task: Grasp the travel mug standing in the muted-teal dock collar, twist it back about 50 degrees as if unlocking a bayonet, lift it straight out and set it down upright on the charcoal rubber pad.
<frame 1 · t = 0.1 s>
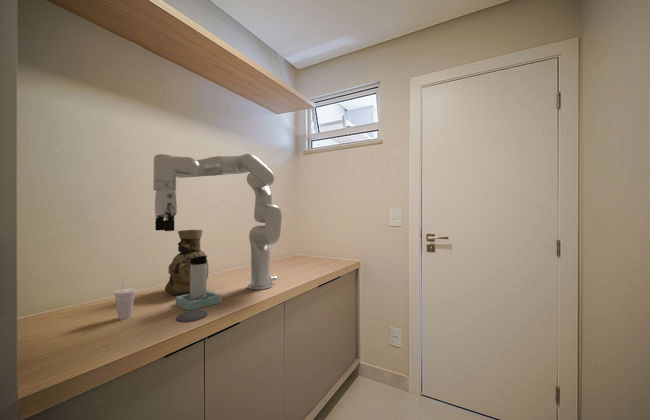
hand: (164, 230, 100), 31 cm above the worktop, fingers open, 9 cm apart
smoothie: (125, 318, 93), on the worktop
ceramic vessel: (187, 291, 127), on the worktop
dock collar: (198, 303, 109), on the worktop
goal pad: (192, 316, 94), on the worktop
travel mug: (198, 303, 109), resting in dock collar
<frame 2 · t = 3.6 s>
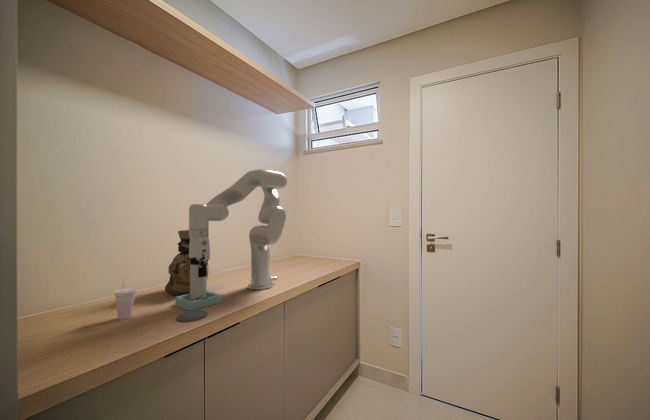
hand: (198, 275, 109), 12 cm above the worktop, fingers closed on travel mug, 6 cm apart
travel mug: (198, 303, 109), resting in dock collar, touching gripper
everything else where it was.
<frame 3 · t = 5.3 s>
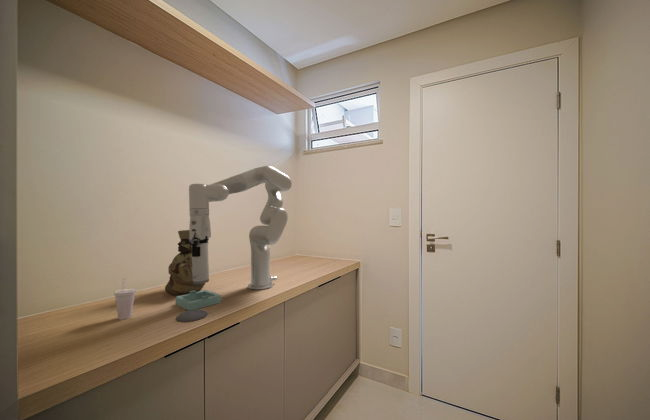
hand: (200, 254, 110), 20 cm above the worktop, fingers closed on travel mug, 6 cm apart
travel mug: (201, 282, 110), point 8 cm above the worktop, touching gripper
everything else where it was.
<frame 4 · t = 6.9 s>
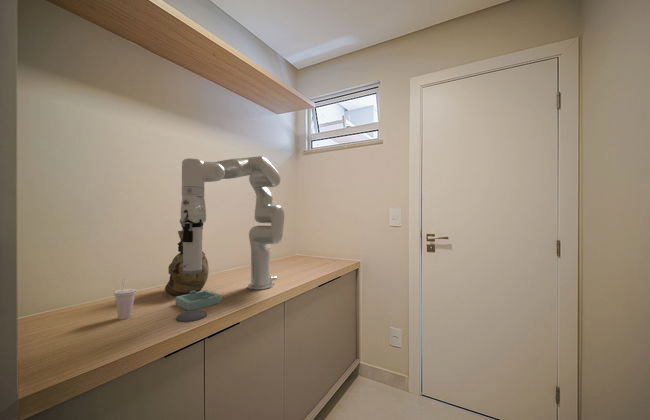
hand: (193, 240, 95), 28 cm above the worktop, fingers closed on travel mug, 6 cm apart
travel mug: (192, 273, 95), point 16 cm above the worktop, touching gripper
everything else where it was.
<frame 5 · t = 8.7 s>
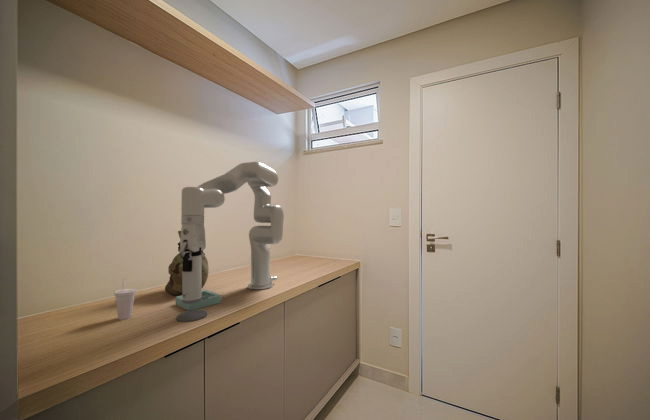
hand: (192, 269, 95), 17 cm above the worktop, fingers closed on travel mug, 6 cm apart
travel mug: (192, 301, 94), point 5 cm above the worktop, touching gripper
everything else where it was.
when the fingers open (13 cm above the worktop, at t = 10.4 s): travel mug drops 1 cm, resting on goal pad.
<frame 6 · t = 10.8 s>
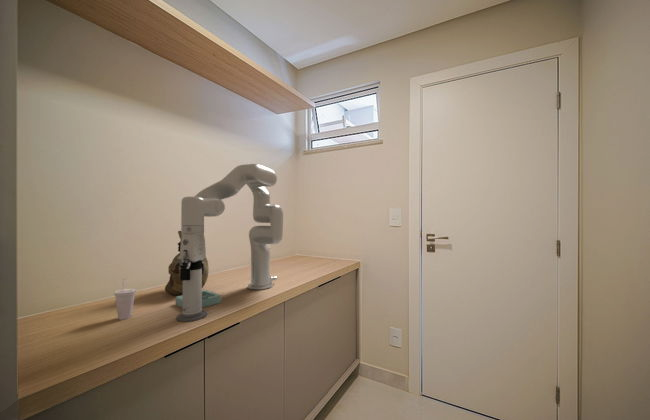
hand: (192, 276, 94), 14 cm above the worktop, fingers open, 9 cm apart
travel mug: (192, 315, 94), resting on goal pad
everything else where it was.
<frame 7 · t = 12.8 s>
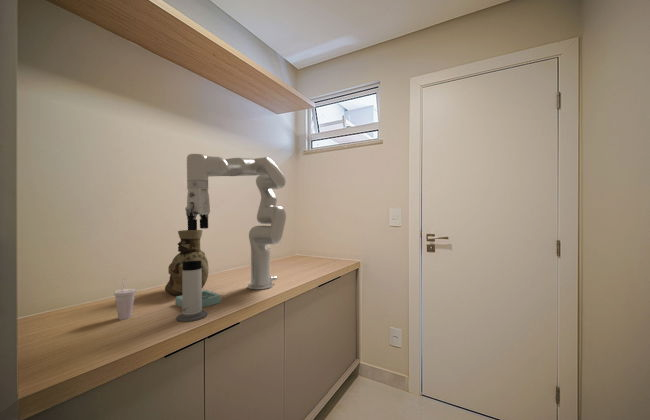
hand: (198, 229, 102), 31 cm above the worktop, fingers open, 9 cm apart
nothing on the worktop moved.
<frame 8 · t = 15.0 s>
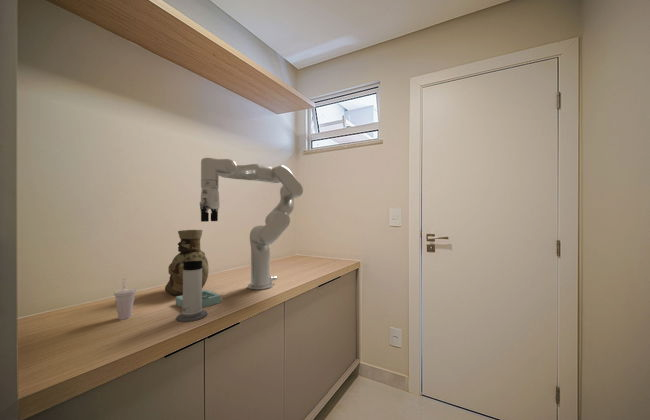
hand: (209, 221, 120), 34 cm above the worktop, fingers open, 9 cm apart
nothing on the worktop moved.
at the end: travel mug 0.3 cm from the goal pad (horizontally); travel mug tilted 0°; travel mug resting on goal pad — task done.
